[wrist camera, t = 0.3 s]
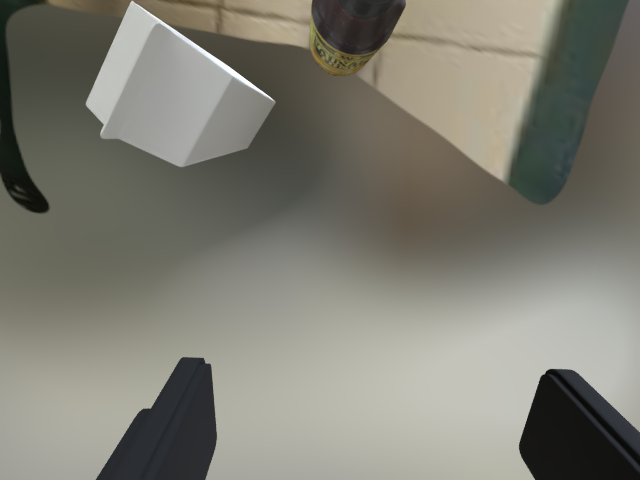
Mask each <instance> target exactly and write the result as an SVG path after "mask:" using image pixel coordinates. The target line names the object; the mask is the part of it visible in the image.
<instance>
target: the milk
mask: <svg viewBox="0 0 640 480" xmlns="http://www.w3.org/2000/svg"><path fill="white" fill-rule="evenodd" d="M275 103H276V102H275V101H274V100H273V99H272V98H270V97H269V96H268V95H266V94H265V93H263V92H262V91H261V90H259V89H258V88H257V87H255V86H254V85H253V84H251V83H250V82H249V81H247V80H246V79H245V78H243V77H242V76H241V75H239V74H238V73H236V72H235V71H234V70H233V69H231V68H230V67H228V66H227V65H225V64H224V63H223V62H221V61H220V60H218V59H216V58H215V57H214V56H212V55H211V54H209V53H208V52H206V51H205V50H204V49H202V48H201V47H199V46H198V45H196V44H194V43H193V42H192V41H190V40H189V39H187V38H186V37H184V36H183V35H182V34H180V33H179V32H177V31H176V30H174V29H173V28H171V27H170V26H168V25H167V24H165V23H164V22H162V21H161V20H160V19H158V18H157V17H155V16H154V15H152V14H151V13H149V12H148V11H146V10H145V9H143V8H142V7H140V6H139V5H138V4H136V3H135V2H133V1H131V3H130V5H129V7H128V9H127V11H126V14H125V16H124V18H123V21H122V23H121V25H120V27H119V30H118V32H117V34H116V36H115V39H114V41H113V43H112V45H111V48H110V50H109V52H108V54H107V57H106V59H105V61H104V63H103V65H102V68H101V70H100V72H99V74H98V77H97V79H96V81H95V84H94V86H93V88H92V90H91V93H90V95H89V97H88V99H87V102H86V106H87V107H88V108H89V109H90V110H91V111H92V113H93V114H94V115H95V116H96V117H97V118H98V119H99V120H100V121H101V122H102V123H103V124H104V126H103V128H102V130H101V133H100V136H101V138H103V139H120V140H122V141H124V142H126V143H129V144H131V145H133V146H135V147H137V148H139V149H142V150H144V151H146V152H148V153H150V154H152V155H155V156H157V157H159V158H161V159H163V160H165V161H168V162H170V163H172V164H174V165H177V166H179V167H184V166H188V165H191V164H195V163H198V162H202V161H205V160H209V159H212V158H216V157H219V156H223V155H226V154H230V153H233V152H237V151H240V150H244V149H247V148H248V147H249V145H250V144H251V142H252V140H253V139H254V137H255V136H256V134H257V132H258V131H259V129H260V127H261V126H262V124H263V123H264V121H265V119H266V118H267V116H268V114H269V113H270V111H271V110H272V108H273V106H274V105H275Z"/></svg>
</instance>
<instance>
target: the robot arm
mask: <svg viewBox="0 0 640 480" xmlns="http://www.w3.org/2000/svg"><path fill="white" fill-rule="evenodd" d="M216 440H217V432H216V420H215V408H214V395H213V382H212V370H211V365H210V364H205V360H204V358H188V357H183V358H181V359H180V361H179V362H178V364H177V366H176V367H175V369H174V371H173V373H172V374H171V376H170V378H169V379H168V381H167V382H166V384H165V386H164V388H163V389H162V391H161V393H160V394H159V396H158V398H157V399H156V401H155V403H154V404H153V406H152V408H151V409H142V410H141V411H140V412H139V413H138V414H137V416H136V417H135V419H134V420H133V422H132V423H131V425H130V426H129V428H128V430H127V431H126V433H125V434H124V436H123V438H122V439H121V441H120V442H119V444H118V445H117V447H116V449H115V450H114V452H113V454H112V455H111V457H110V458H109V460H108V461H107V463H106V464H105V466H104V468H103V469H102V471H101V473H100V474H99V476H98V477H97V479H96V480H205V478H206V476H207V472H208V469H209V465H210V463H211V460H212V457H213V454H214V450H215V446H216ZM519 450H520V454H521V457H522V459H523V460H524V462H525V464H526V465H527V467H528V468H529V470H530V472H531V473H532V475H533V477H534V478H535V480H640V432H639V431H638V430H637V429H635V428H634V427H633V426H632V425H631V424H630V423H629V422H628V421H627V420H626V419H625V418H624V417H623V416H622V415H621V414H620V413H619V412H618V411H617V410H616V409H615V408H613V407H612V406H611V405H610V404H609V403H608V402H607V401H606V400H605V399H604V398H603V397H602V396H601V395H600V394H599V393H598V392H597V391H596V390H595V389H594V388H593V387H591V386H590V385H589V384H588V383H587V382H586V381H585V380H584V379H583V378H582V377H581V376H580V375H579V374H578V373H576V372H575V371H573V370H566V369H549V370H548V371H546V373H545V374H544V375H542V376H541V378H540V381H539V384H538V387H537V390H536V393H535V397H534V399H533V403H532V406H531V409H530V412H529V415H528V418H527V421H526V424H525V427H524V430H523V434H522V437H521V440H520V443H519Z"/></svg>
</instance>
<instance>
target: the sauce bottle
mask: <svg viewBox="0 0 640 480" xmlns="http://www.w3.org/2000/svg"><path fill="white" fill-rule="evenodd" d="M405 6H406V2H405V0H312V9H311V26H310V48H311V52H312V55H313V57H314V59H315V61H316V63H317V64H318V65H319V66H320V67H321V68H322V69H323V70H325V71H326V72H327V73H330V74H332V75H334V76H346V75H351V74H353V73H355V72H357V71H358V70H360V69H361V68H362V67H363V66H364V65H365V64H366V63H367V62H368V61H369V60H370V58H371V57H372V56H373V55H374V54H375V53H376V52H377V51H378V50H379V49H380V48H381V47H382V46H383V45H384V44H385V43H386V42H387V40H388V39H389V37H390V35H391V33H392V31H393V30H394V28H395V26H396V24H397V22H398V20H399V18H400V16H401V14H402V12H403V10H404V8H405Z"/></svg>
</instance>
